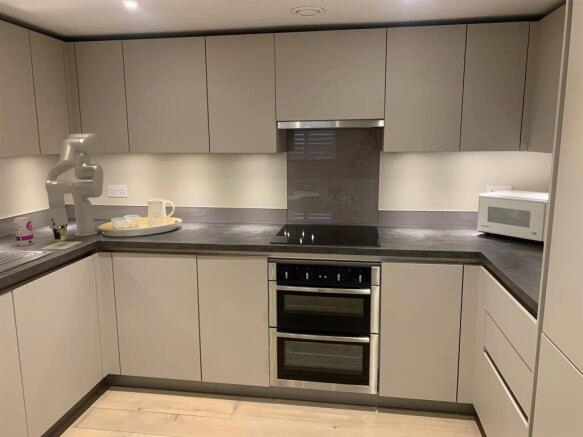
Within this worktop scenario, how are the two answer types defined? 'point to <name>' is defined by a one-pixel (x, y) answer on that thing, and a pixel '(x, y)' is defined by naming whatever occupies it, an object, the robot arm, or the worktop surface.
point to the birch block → (62, 234)
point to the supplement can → (23, 231)
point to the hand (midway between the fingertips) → (60, 237)
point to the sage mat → (61, 245)
